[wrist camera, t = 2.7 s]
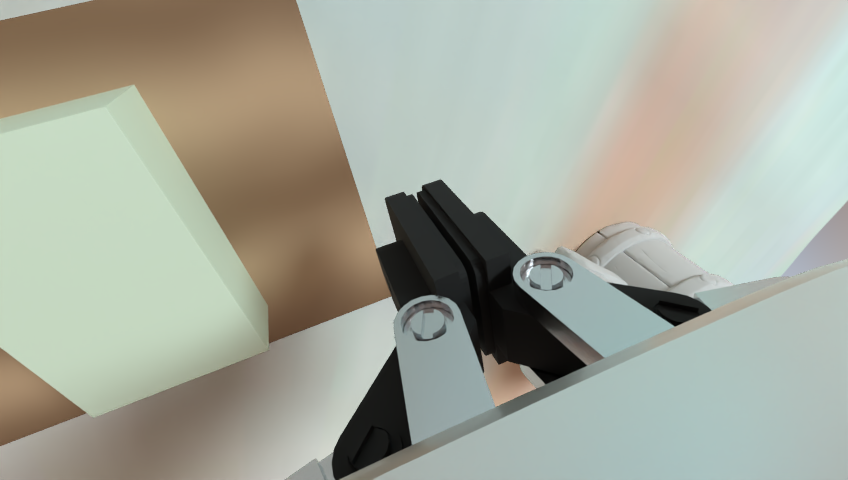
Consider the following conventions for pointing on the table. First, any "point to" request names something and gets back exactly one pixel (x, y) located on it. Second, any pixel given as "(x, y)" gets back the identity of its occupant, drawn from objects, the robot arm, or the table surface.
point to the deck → (210, 148)
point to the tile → (114, 257)
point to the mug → (641, 261)
